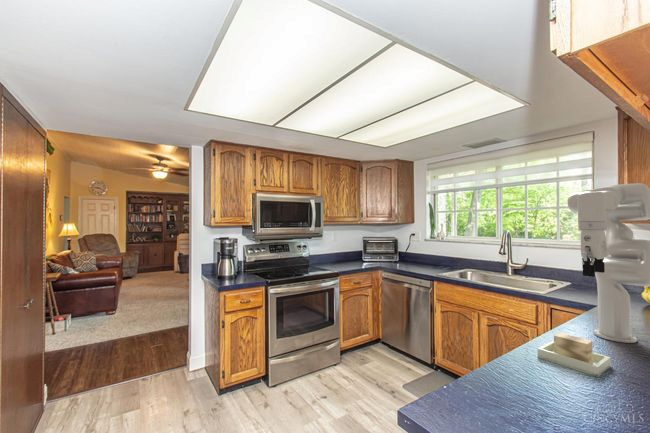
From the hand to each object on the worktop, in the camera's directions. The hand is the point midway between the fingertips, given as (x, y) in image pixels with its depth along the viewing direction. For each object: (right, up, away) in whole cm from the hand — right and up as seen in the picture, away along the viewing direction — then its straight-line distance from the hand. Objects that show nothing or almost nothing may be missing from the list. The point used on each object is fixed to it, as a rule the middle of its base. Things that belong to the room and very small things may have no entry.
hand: (593, 274), depth 107 cm
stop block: (-13, -27, -7) cm, 31 cm away
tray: (-13, -28, -7) cm, 32 cm away
